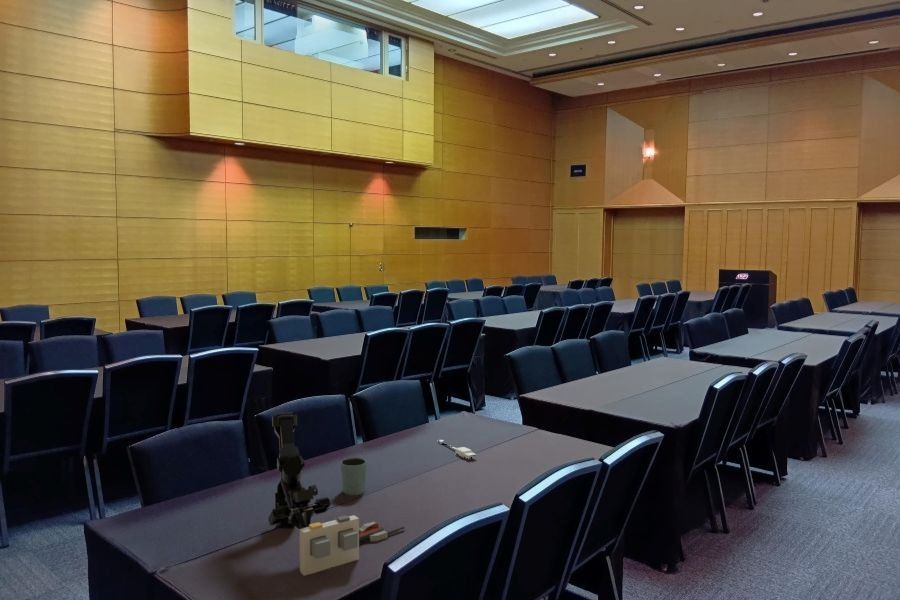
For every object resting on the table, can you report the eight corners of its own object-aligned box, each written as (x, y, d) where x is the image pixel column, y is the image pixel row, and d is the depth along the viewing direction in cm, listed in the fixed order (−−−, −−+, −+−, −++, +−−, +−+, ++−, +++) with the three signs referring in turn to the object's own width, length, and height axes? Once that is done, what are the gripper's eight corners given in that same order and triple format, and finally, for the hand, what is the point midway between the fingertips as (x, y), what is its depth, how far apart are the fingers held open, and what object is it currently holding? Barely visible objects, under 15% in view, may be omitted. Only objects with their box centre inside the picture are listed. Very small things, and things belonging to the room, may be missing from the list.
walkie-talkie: (357, 550, 213) (406, 532, 227) (357, 536, 213) (406, 519, 227) (341, 541, 220) (390, 524, 233) (341, 528, 220) (390, 512, 233)
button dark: (331, 540, 206) (330, 526, 206) (343, 536, 209) (343, 522, 209) (344, 551, 199) (344, 536, 199) (357, 547, 202) (357, 533, 201)
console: (299, 571, 198) (299, 526, 197) (354, 555, 209) (354, 512, 208) (304, 575, 196) (303, 530, 195) (358, 559, 206) (358, 515, 205)
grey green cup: (361, 497, 257) (361, 466, 256) (336, 494, 259) (336, 464, 258) (370, 487, 267) (369, 458, 266) (345, 485, 269) (345, 456, 268)
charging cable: (443, 443, 332) (443, 436, 331) (477, 459, 303) (477, 452, 303) (434, 445, 329) (434, 438, 329) (467, 461, 301) (467, 453, 301)
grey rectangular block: (303, 547, 201) (303, 533, 201) (317, 543, 204) (317, 529, 203) (316, 559, 194) (316, 544, 193) (330, 555, 196) (330, 540, 196)
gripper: (271, 483, 201) (286, 532, 193) (328, 471, 212) (344, 517, 203) (262, 501, 208) (276, 548, 199) (318, 488, 219) (333, 533, 210)
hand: (308, 536), depth 203 cm, fingers closed
